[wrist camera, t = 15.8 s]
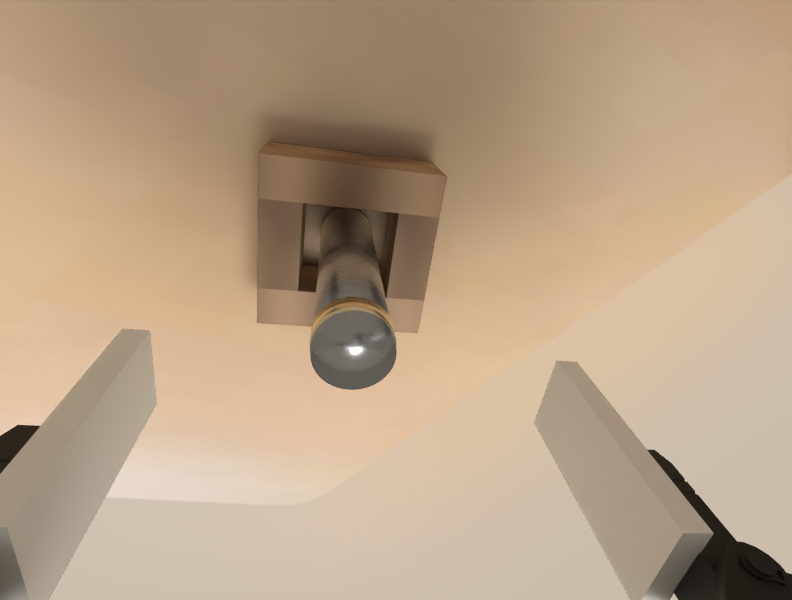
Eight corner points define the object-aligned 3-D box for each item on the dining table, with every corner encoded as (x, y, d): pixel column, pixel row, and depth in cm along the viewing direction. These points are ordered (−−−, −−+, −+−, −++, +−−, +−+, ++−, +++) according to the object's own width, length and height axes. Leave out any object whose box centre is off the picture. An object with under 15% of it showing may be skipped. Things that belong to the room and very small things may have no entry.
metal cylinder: (375, 210, 28) (406, 322, 16) (366, 257, 30) (388, 394, 17) (324, 202, 28) (315, 310, 15) (317, 250, 29) (303, 386, 17)
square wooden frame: (432, 162, 27) (446, 176, 24) (408, 303, 31) (417, 333, 28) (269, 141, 26) (258, 153, 22) (266, 292, 30) (256, 323, 26)
